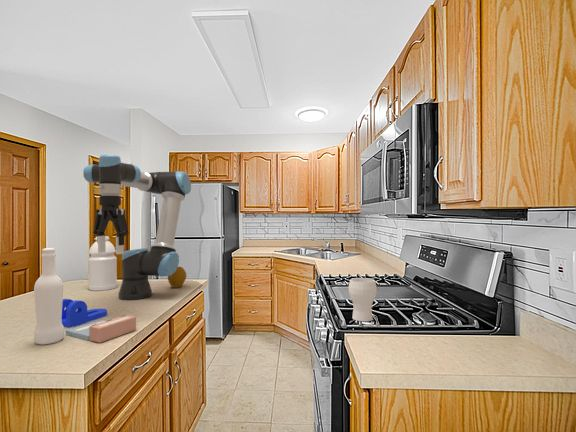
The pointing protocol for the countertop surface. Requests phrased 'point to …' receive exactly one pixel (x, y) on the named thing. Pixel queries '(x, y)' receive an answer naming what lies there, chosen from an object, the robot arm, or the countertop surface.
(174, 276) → the apple
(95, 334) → the stub
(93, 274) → the bottle
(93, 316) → the bracket
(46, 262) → the bottle
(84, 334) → the ticket
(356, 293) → the cup
